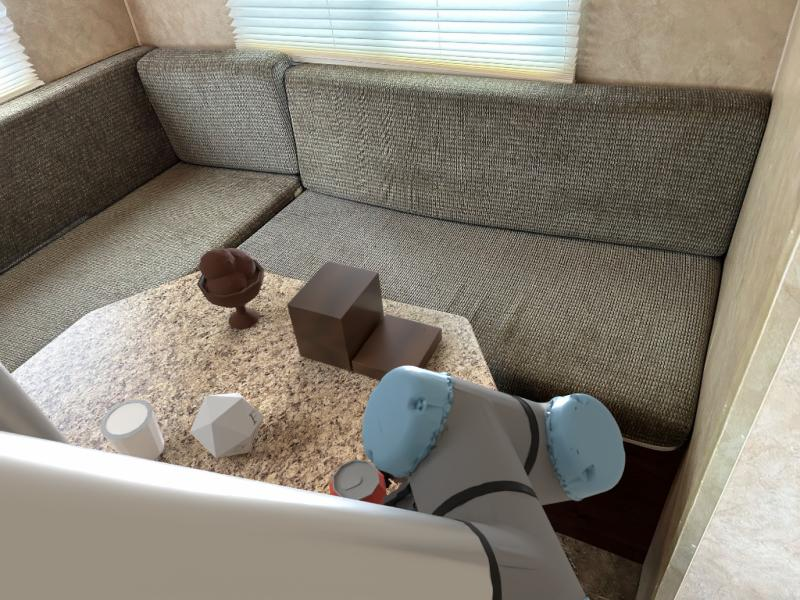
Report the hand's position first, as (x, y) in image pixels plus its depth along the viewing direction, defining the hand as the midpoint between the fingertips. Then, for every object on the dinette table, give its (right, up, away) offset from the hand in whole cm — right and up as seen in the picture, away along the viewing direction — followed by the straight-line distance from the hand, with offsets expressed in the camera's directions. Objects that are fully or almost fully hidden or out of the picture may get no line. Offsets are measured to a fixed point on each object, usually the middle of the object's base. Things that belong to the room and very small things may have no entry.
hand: (338, 511), depth 72 cm
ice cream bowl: (-20, +22, +35) cm, 46 cm away
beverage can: (+4, -4, +1) cm, 5 cm away
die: (-16, +5, +14) cm, 22 cm away
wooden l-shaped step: (+3, +17, +26) cm, 32 cm away
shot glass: (-29, +4, +14) cm, 32 cm away
